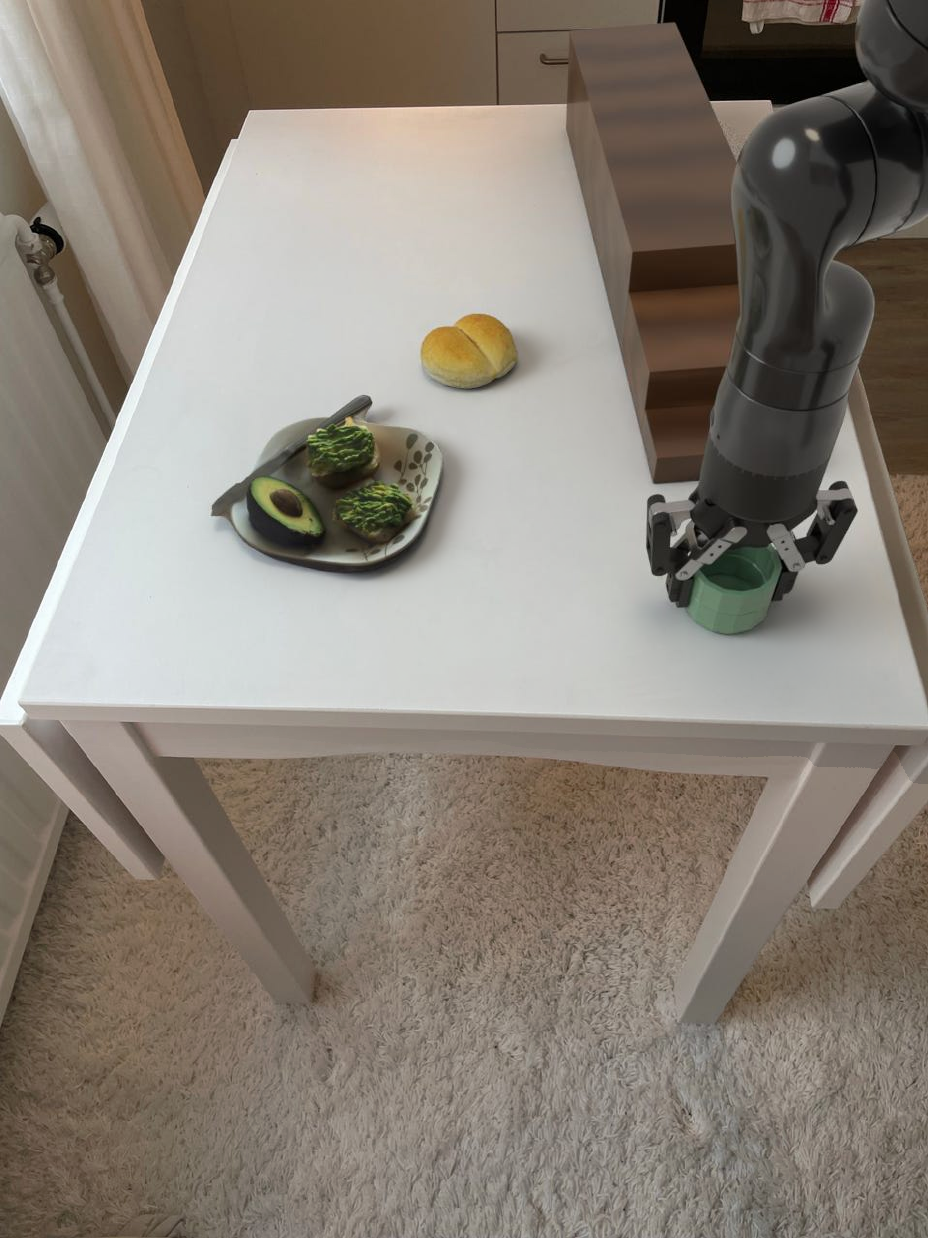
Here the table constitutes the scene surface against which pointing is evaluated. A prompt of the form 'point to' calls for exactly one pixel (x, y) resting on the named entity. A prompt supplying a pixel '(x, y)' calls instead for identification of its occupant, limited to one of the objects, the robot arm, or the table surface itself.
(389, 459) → the salad plate
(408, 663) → the table surface
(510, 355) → the bread roll
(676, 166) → the wooden stair steps
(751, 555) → the cup
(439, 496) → the table surface
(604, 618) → the table surface
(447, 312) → the table surface
